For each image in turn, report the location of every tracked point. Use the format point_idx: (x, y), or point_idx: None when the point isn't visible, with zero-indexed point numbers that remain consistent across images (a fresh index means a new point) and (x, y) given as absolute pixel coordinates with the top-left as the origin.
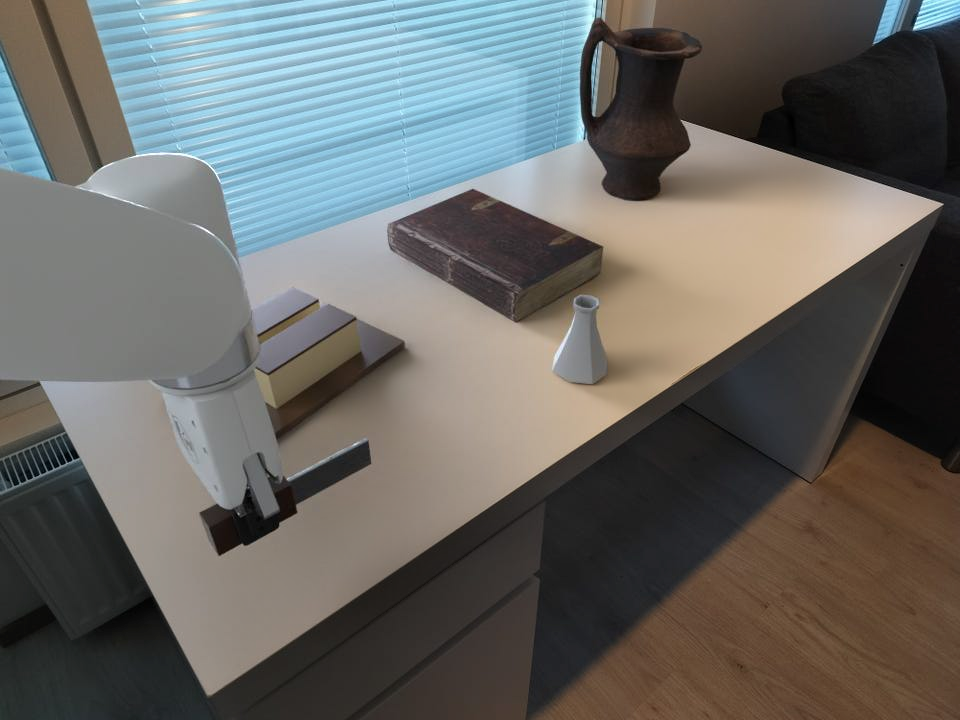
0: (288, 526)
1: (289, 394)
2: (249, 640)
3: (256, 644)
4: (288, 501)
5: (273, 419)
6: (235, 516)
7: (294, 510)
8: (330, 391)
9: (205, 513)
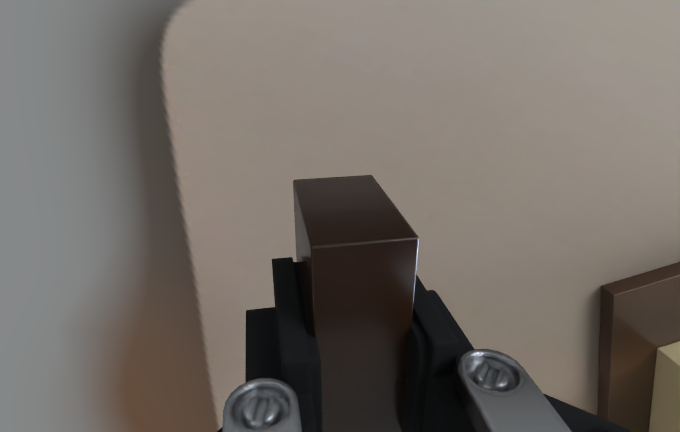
0: None
1: (664, 382)
2: (217, 102)
3: (199, 110)
4: None
5: (641, 335)
6: (282, 355)
7: None
8: None
9: (394, 258)
